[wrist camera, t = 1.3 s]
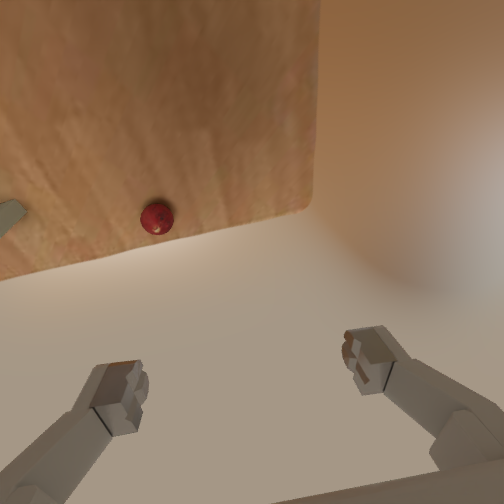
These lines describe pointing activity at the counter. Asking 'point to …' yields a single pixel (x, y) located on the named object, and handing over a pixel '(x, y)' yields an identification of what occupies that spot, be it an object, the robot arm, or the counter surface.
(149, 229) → the onion
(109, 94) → the counter surface
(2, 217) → the door panel
